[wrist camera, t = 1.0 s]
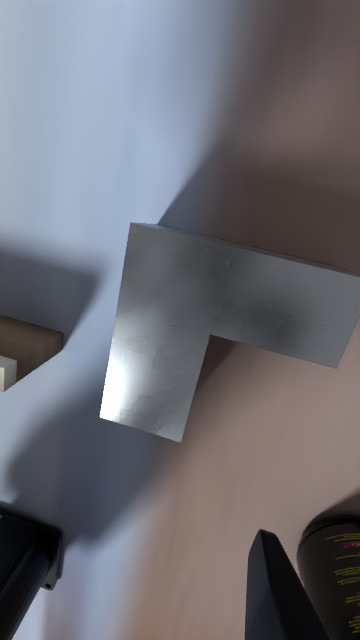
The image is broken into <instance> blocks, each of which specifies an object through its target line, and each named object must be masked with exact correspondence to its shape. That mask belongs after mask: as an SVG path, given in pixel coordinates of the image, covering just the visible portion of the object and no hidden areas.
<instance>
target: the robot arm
mask: <svg viewBox="0 0 360 640" xmlns="http://www.w3.org/2000/svg"><path fill="white" fill-rule="evenodd" d="M61 543H62V533H61V532H60V531H59V530H57V529H54V528H52V527H49V526H46V525H43V524H40V523H38V522H35V521H32V520H29V519H26V518H23V517H21V516H18V515H15V514H12V513H9V512H7V511H4V510H1V509H0V640H12V638H13V636H14V634H15V633H16V631H17V629H18V627H19V625H20V623H21V622H22V620H23V618H24V616H25V614H26V612H27V611H28V609H29V607H30V605H31V603H32V601H33V600H34V598H35V596H36V594H37V592H38V590H39V589H40V587H42V588H44V589H47V590H53V588H54V586H55V585H56V582H57V575H58V567H59V559H60V551H61ZM245 640H331V638H330V636H329V634H328V633H327V631H326V629H325V627H324V625H323V623H322V621H321V619H320V617H319V615H318V613H317V612H316V610H315V608H314V606H313V604H312V602H311V600H310V598H309V596H308V594H307V592H306V590H305V589H304V587H303V585H302V583H301V581H300V579H299V577H298V575H297V573H296V571H295V569H294V568H293V566H292V564H291V562H290V560H289V558H288V556H287V554H286V552H285V550H284V548H283V546H282V545H281V543H280V541H279V539H278V537H277V536H276V535H275V534H274V533H272V532H269V531H266V530H263V529H260V530H259V531H258V532H257V535H256V537H255V539H254V542H253V544H252V546H251V549H250V552H249V557H248V573H247V595H246V617H245Z"/></svg>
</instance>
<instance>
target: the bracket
mask: <svg viewBox="0 0 360 640" xmlns="http://www.w3.org/2000/svg"><path fill="white" fill-rule="evenodd" d="M359 317H360V275H358V274H355V273H352V272H350V271H347V270H344V269H342V268H339V267H335V266H331V265H327V264H323V263H318V262H314V261H310V260H306V259H302V258H297V257H293V256H289V255H285V254H281V253H276V252H272V251H268V250H264V249H259V248H255V247H251V246H247V245H243V244H238V243H234V242H230V241H226V240H222V239H217V238H213V237H209V236H205V235H201V234H196V233H192V232H188V231H184V230H180V229H175V228H171V227H167V226H163V225H158V224H147V223H130V229H129V235H128V242H127V248H126V254H125V261H124V267H123V273H122V280H121V286H120V293H119V299H118V305H117V312H116V318H115V324H114V331H113V337H112V343H111V350H110V356H109V363H108V369H107V375H106V382H105V388H104V394H103V401H102V407H101V413H100V417H101V418H104V419H107V420H110V421H114V422H117V423H120V424H123V425H126V426H130V427H133V428H136V429H139V430H142V431H145V432H149V433H152V434H155V435H158V436H161V437H165V438H168V439H171V440H174V441H177V442H181V440H182V437H183V433H184V429H185V426H186V422H187V418H188V415H189V411H190V407H191V404H192V400H193V396H194V393H195V389H196V385H197V382H198V378H199V374H200V371H201V367H202V363H203V360H204V356H205V352H206V349H207V345H208V341H209V338H210V334H211V335H214V336H218V337H222V338H225V339H229V340H233V341H236V342H240V343H244V344H248V345H251V346H255V347H259V348H262V349H266V350H270V351H273V352H277V353H281V354H284V355H288V356H292V357H295V358H299V359H303V360H306V361H310V362H314V363H317V364H321V365H325V366H328V367H332V368H336V369H337V367H338V364H339V362H340V360H341V357H342V355H343V353H344V351H345V348H346V346H347V344H348V342H349V339H350V337H351V335H352V332H353V330H354V328H355V326H356V323H357V321H358V319H359Z"/></svg>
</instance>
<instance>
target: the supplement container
mask: <svg viewBox="0 0 360 640" xmlns="http://www.w3.org/2000/svg"><path fill="white" fill-rule="evenodd" d="M296 558H297V565H298V571H299V576H300V581H301V583H302V585H303V587H304V589H305V590H306V592H307V594H308V596H309V598H310V600H311V602H312V604H313V606H314V608H315V610H316V612H317V613H318V615H319V617H320V619H321V621H322V623H323V625H324V627H325V629H326V631H327V633H328V634H329V636H330V638H331V640H360V516H353V515H342V516H335V517H330V518H327V519H324V520H321V521H319V522H317V523H316V524H314V525H313V526H311V527H310V528H309V529H308V530H307V531H306V532H305V534H304V535H303V536H302V538H301V540H300V542H299V545H298V549H297V555H296Z"/></svg>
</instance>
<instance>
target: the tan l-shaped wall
mask: <svg viewBox="0 0 360 640" xmlns="http://www.w3.org/2000/svg"><path fill="white" fill-rule="evenodd" d="M62 339H63V333H61V332H58V331H54V330H50V329H47V328H43V327H40V326H36V325H33V324H29V323H26V322H22V321H19V320H15V319H12V318H8V317H5V316H1V315H0V391H3V392H4V391H6V390H7V389H9V388H10V387H11V386H13V385H14V384H16V383H17V382H18V381H19V380H21V379H22V378H24V377H25V376H27V375H28V374H29V373H31V372H32V371H34V370H35V369H36V368H38V367H39V366H41V365H42V364H44V363H45V362H46V361H48V360H49V359H51V358H52V357H54V356H55V355H56V354H58V353H59V352H61V350H62Z"/></svg>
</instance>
